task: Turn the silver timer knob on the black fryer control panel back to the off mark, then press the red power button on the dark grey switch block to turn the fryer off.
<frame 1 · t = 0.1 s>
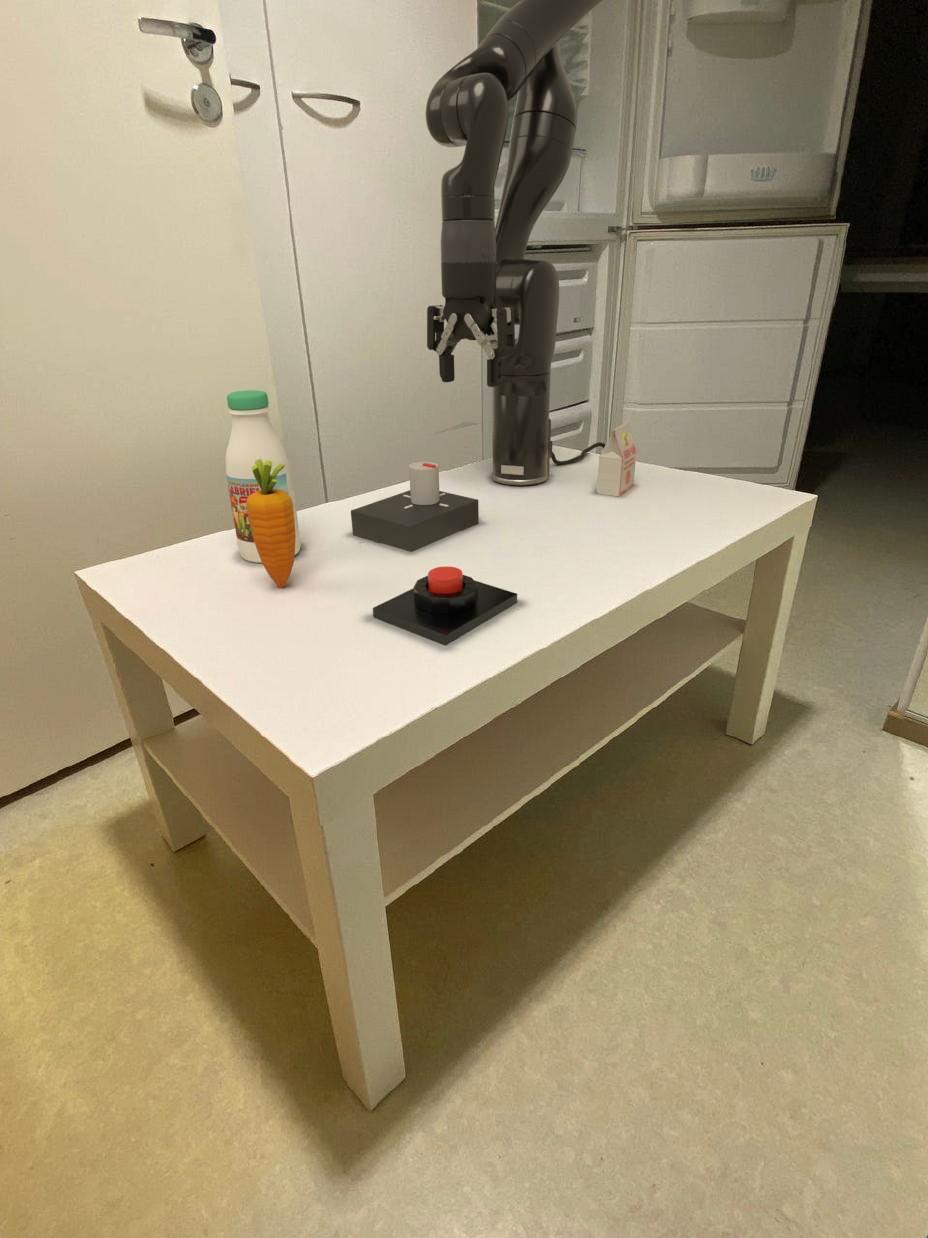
hand: (470, 383, 102), 17 cm above the table, tool pointing down, fingers open, 8 cm apart
power button: (445, 580, 73), point 3 cm above the table, slide at 0.1 cm
milk bottle: (271, 554, 91), on the table
carrot: (282, 589, 81), on the table
timer knob: (424, 482, 96), point 6 cm above the table, hinge at 90.0°
power switch: (446, 610, 75), on the table
milk carton: (615, 490, 113), on the table
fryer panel: (416, 529, 98), on the table
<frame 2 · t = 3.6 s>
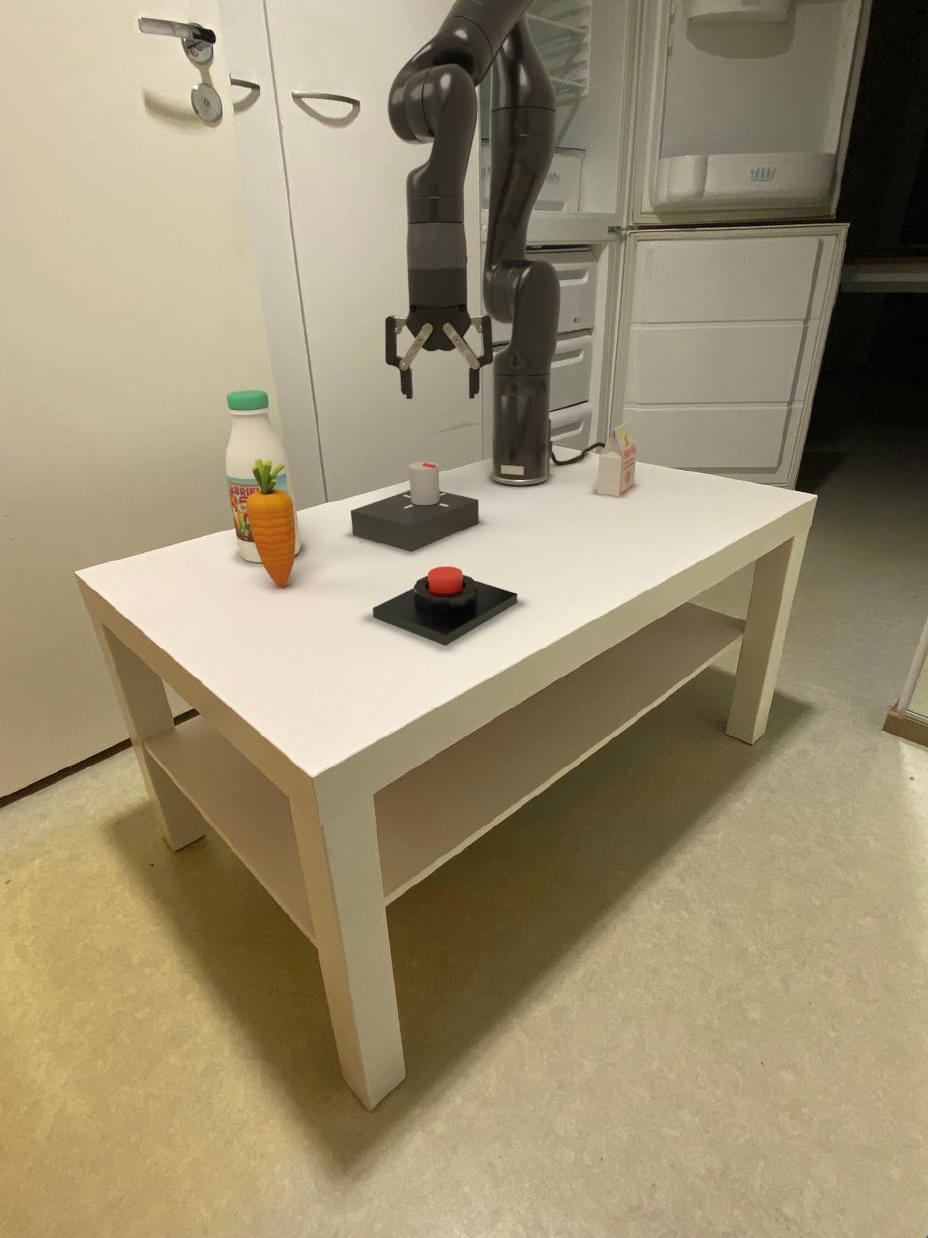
hand: (440, 397, 96), 17 cm above the table, tool pointing down, fingers open, 8 cm apart
nothing on the table moved.
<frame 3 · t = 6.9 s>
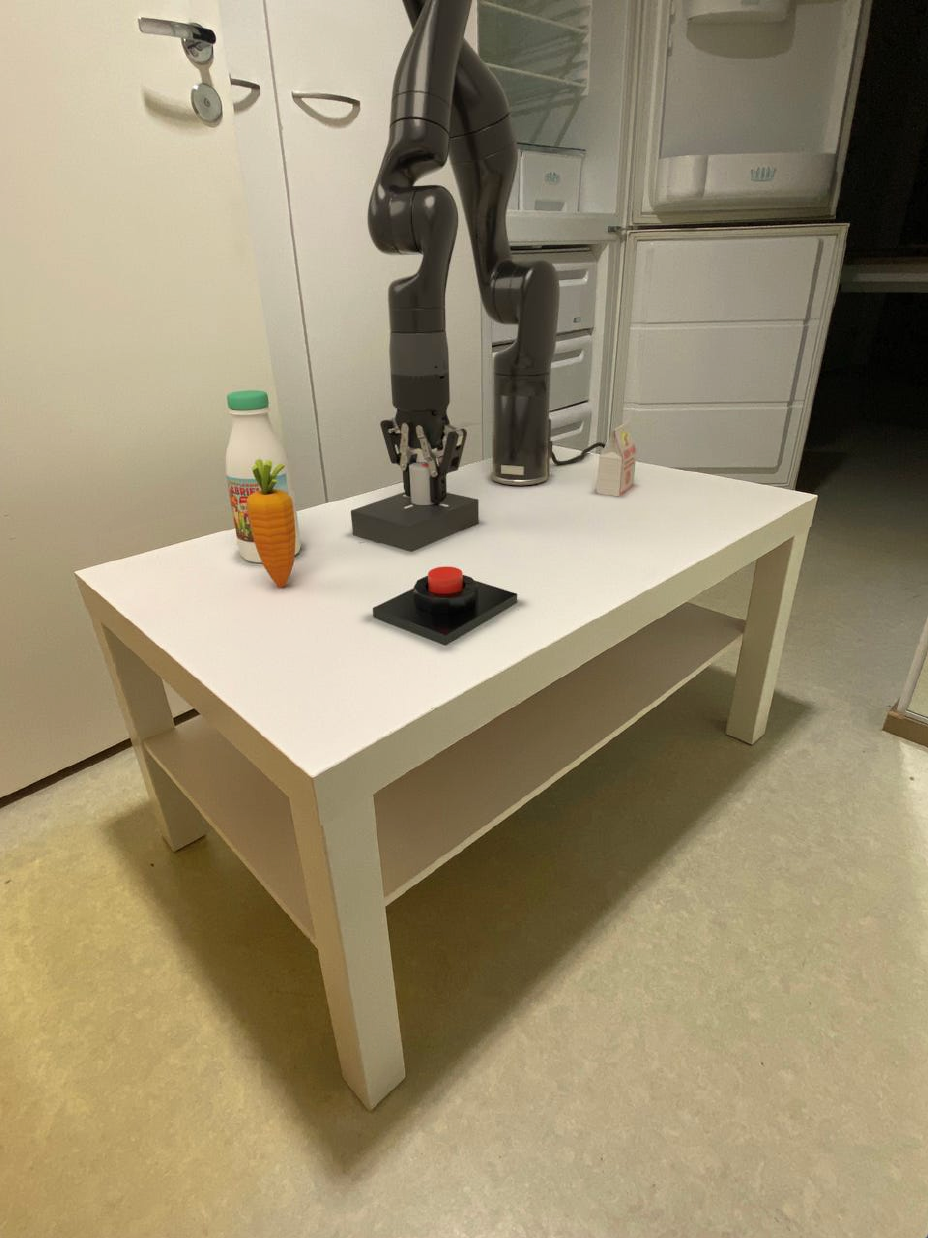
hand: (425, 498, 97), 4 cm above the table, tool pointing down, fingers closed on timer knob, 4 cm apart
timer knob: (424, 482, 96), point 6 cm above the table, hinge at 89.6°, touching gripper
everything else where it was.
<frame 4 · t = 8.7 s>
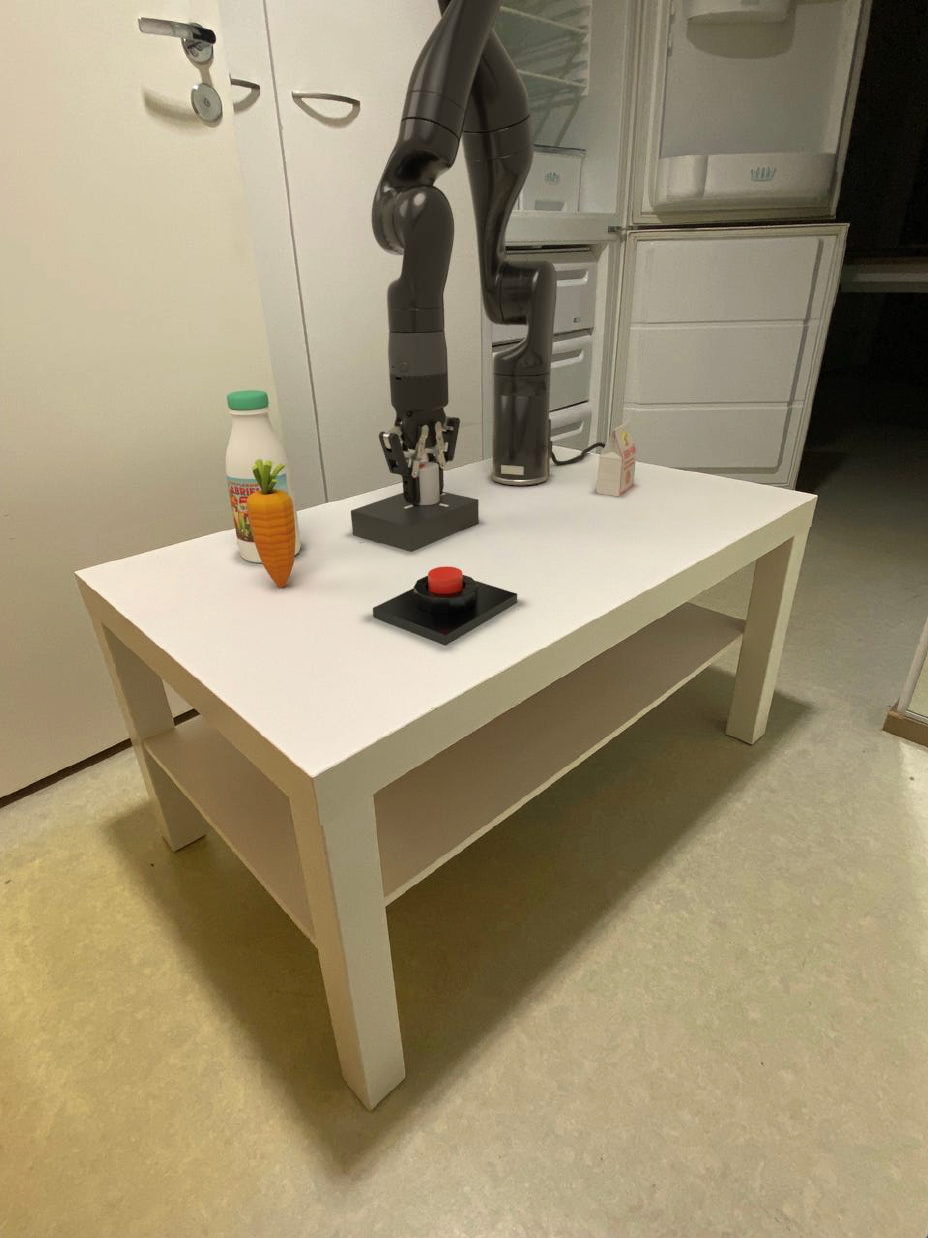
hand: (424, 497, 97), 4 cm above the table, tool pointing down, fingers closed on timer knob, 4 cm apart
timer knob: (424, 482, 96), point 6 cm above the table, hinge at -4.5°, touching gripper
everything else where it was.
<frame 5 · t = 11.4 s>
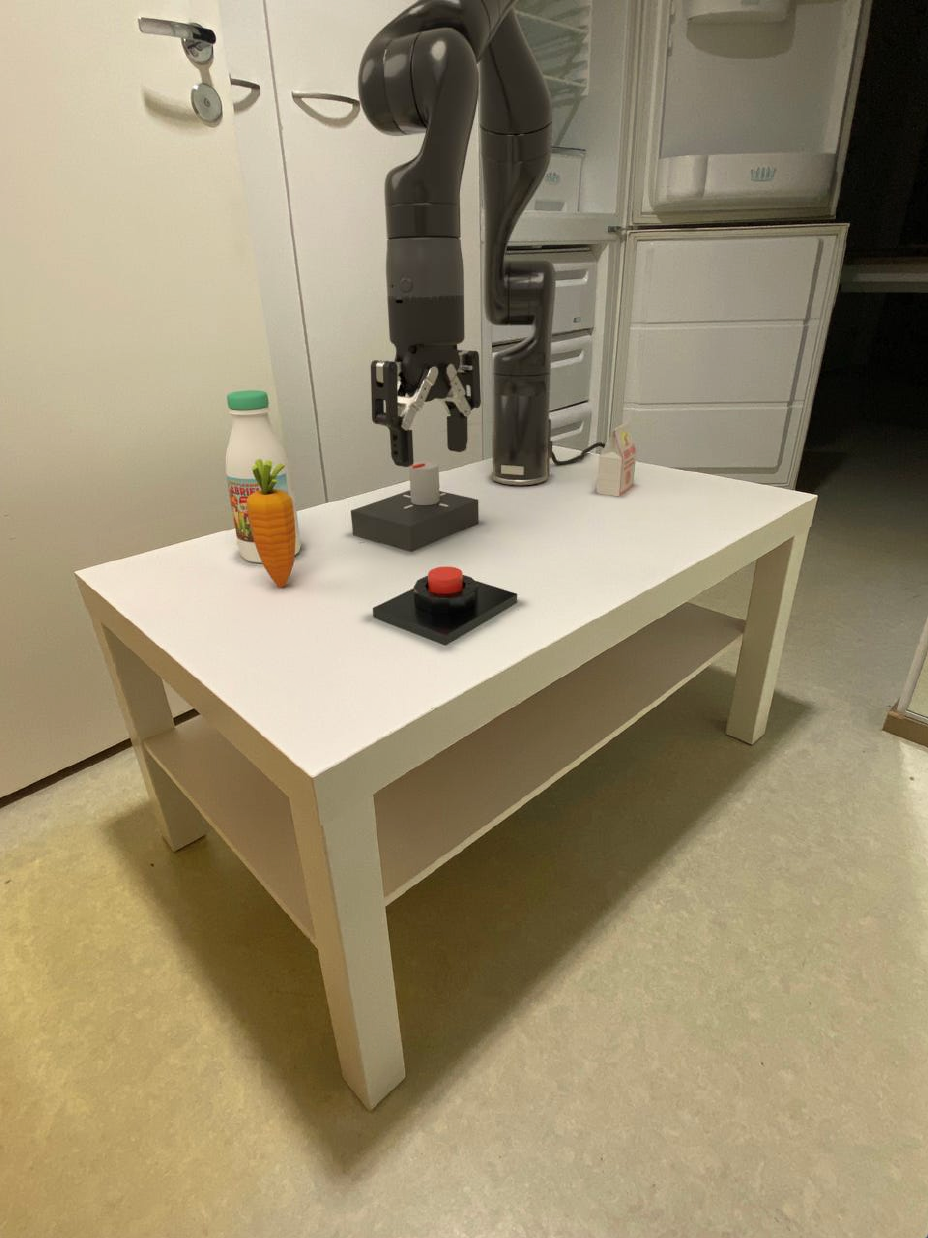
hand: (431, 458, 76), 14 cm above the table, tool pointing down, fingers open, 8 cm apart
timer knob: (424, 482, 96), point 6 cm above the table, hinge at -3.4°
everything else where it was.
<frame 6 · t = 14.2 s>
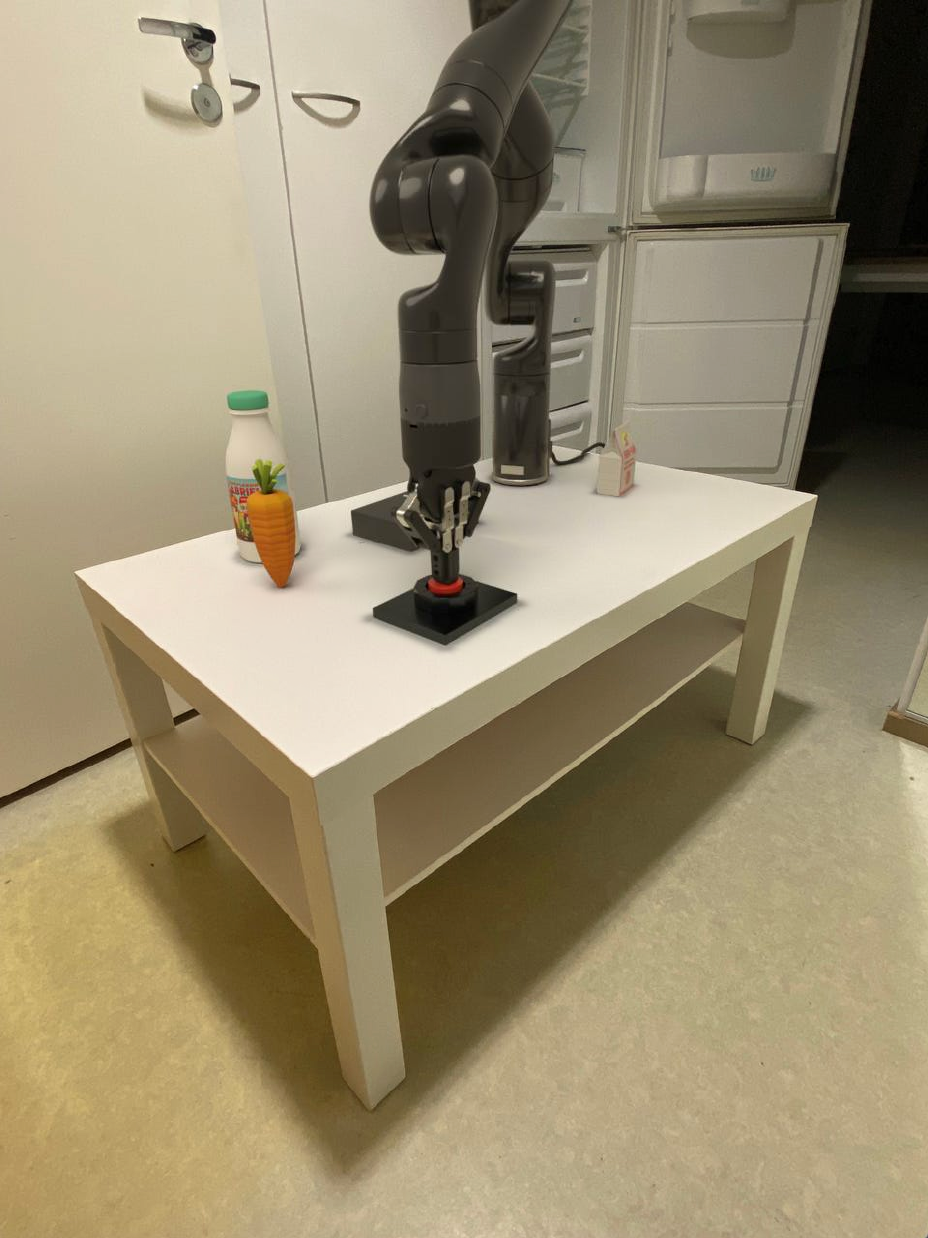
hand: (445, 581, 73), 3 cm above the table, tool pointing down, fingers closed
power button: (445, 588, 74), point 3 cm above the table, slide at -0.8 cm, touching gripper
everything else where it was.
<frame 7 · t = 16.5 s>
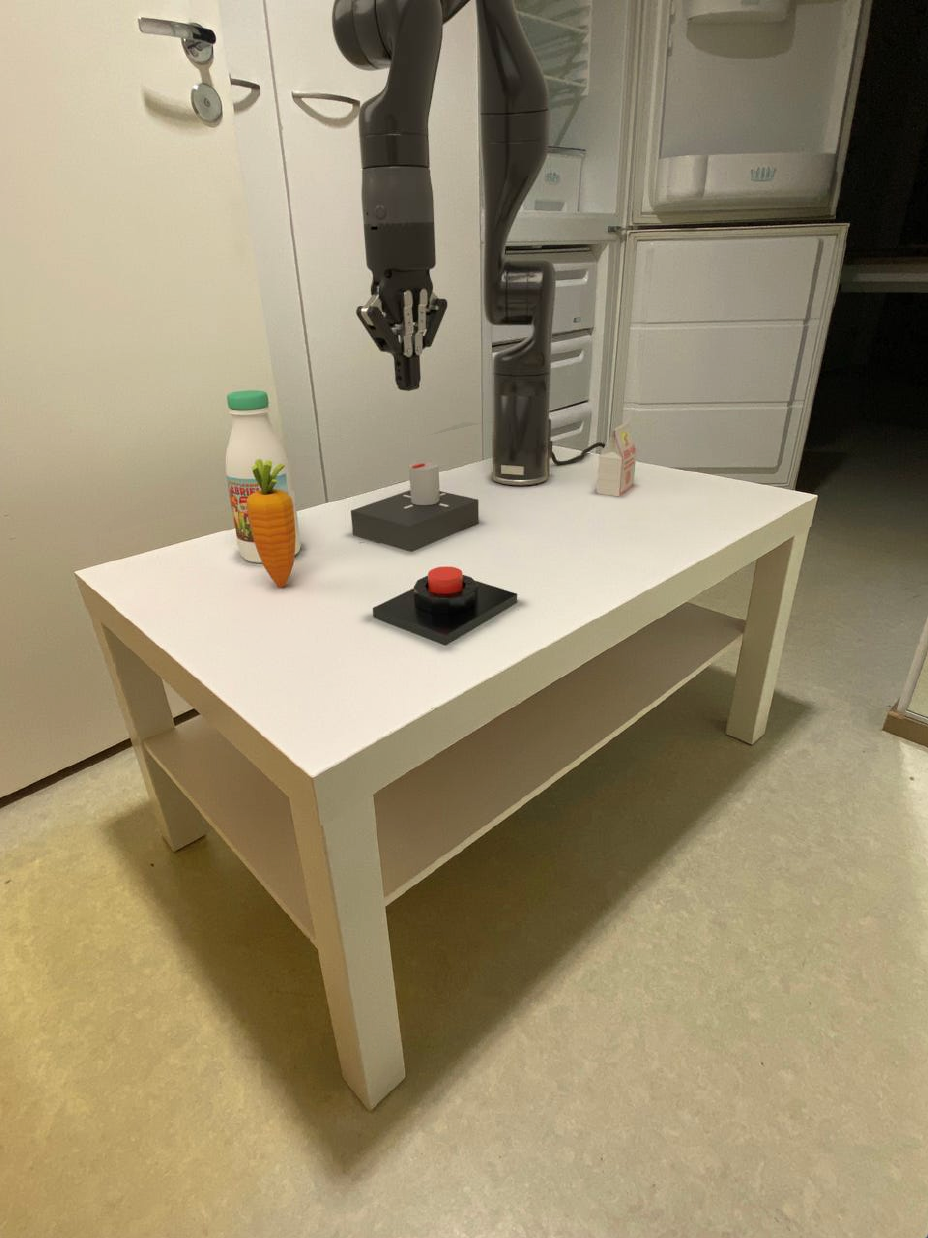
hand: (408, 389, 83), 20 cm above the table, tool pointing down, fingers closed
power button: (445, 580, 73), point 3 cm above the table, slide at 0.1 cm
everything else where it was.
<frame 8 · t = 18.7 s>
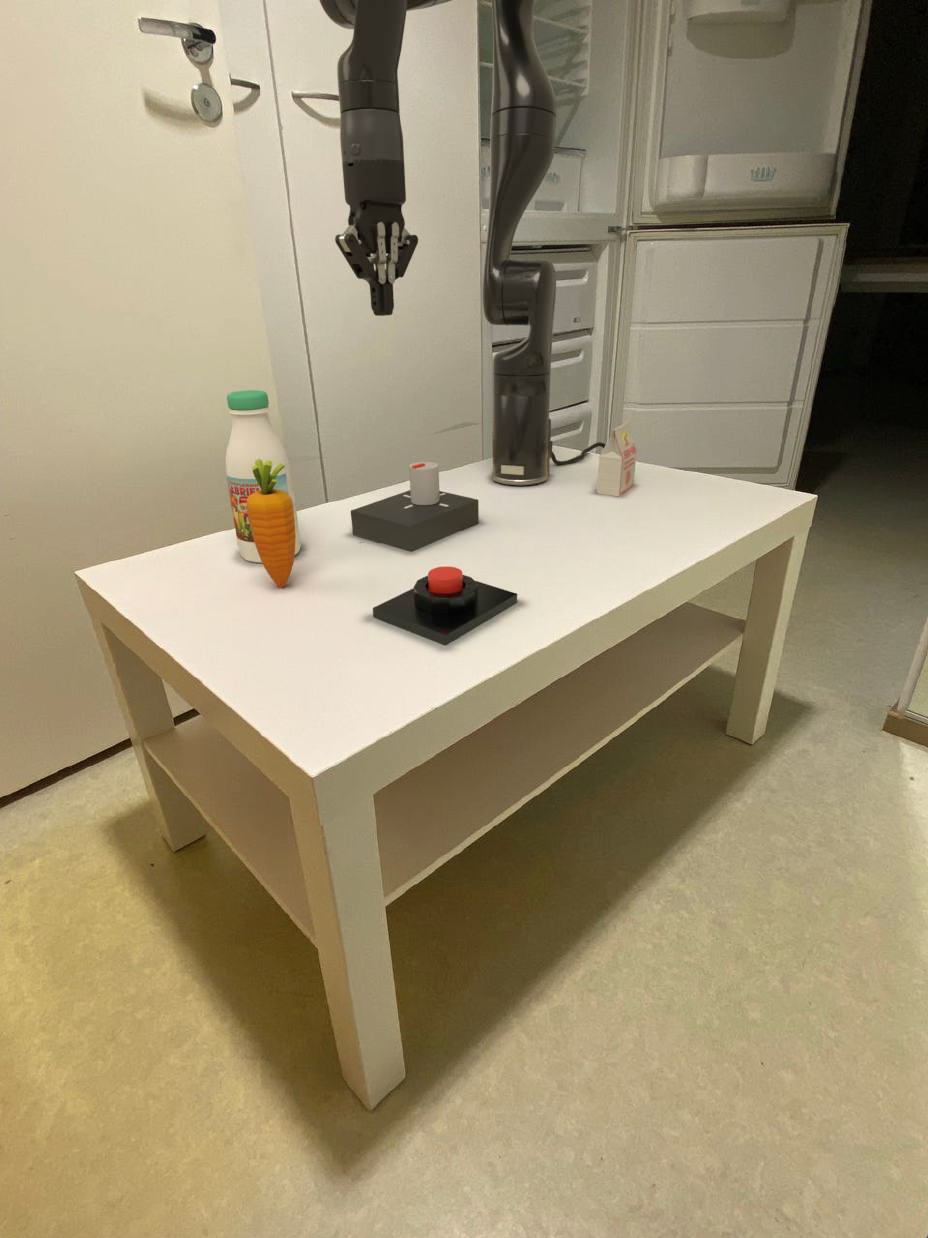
hand: (383, 314, 93), 27 cm above the table, tool pointing down, fingers closed
nothing on the table moved.
at the end: timer knob at -3° (first picture: +90°); power button pushed in 1.1 cm at the most during the clip, back to where it started at the end; power button slide at 0.1 cm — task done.
